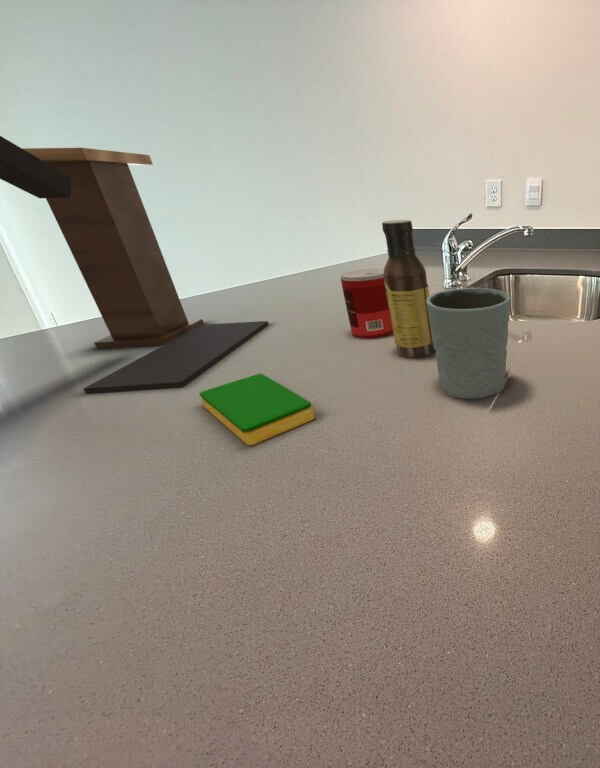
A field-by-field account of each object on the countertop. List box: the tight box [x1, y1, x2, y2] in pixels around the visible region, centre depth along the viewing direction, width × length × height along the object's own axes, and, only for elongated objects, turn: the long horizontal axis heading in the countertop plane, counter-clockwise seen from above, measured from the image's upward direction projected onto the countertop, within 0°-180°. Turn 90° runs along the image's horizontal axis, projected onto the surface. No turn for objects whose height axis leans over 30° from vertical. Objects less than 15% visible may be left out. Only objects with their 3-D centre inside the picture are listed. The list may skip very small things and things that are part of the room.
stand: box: [21, 147, 205, 350], centre depth 69 cm, size 14×12×30 cm
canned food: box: [340, 268, 394, 339], centre depth 72 cm, size 8×8×11 cm
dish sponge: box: [199, 373, 315, 446], centre depth 48 cm, size 7×14×2 cm, turn 51°
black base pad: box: [82, 320, 270, 395], centre depth 67 cm, size 28×12×1 cm, turn 7°
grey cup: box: [426, 287, 511, 400], centre depth 51 cm, size 10×10×12 cm
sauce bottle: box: [381, 219, 436, 358], centre depth 61 cm, size 6×6×20 cm
